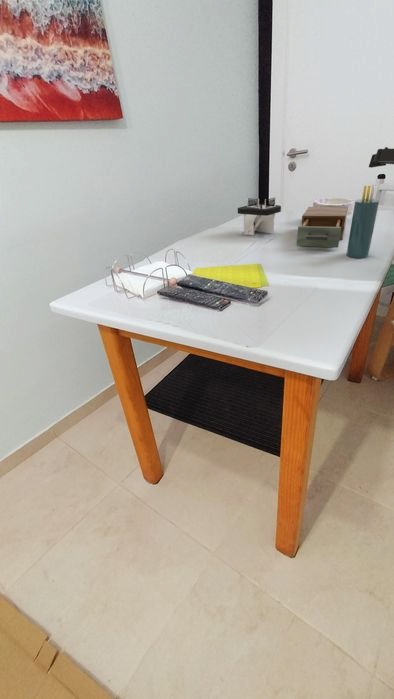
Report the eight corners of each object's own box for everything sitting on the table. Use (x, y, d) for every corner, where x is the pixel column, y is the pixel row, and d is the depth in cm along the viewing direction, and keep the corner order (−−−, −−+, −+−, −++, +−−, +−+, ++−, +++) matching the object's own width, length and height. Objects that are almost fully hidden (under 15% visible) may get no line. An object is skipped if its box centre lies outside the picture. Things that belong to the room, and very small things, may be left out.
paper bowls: (351, 225, 129) (354, 203, 125) (309, 225, 134) (311, 204, 130) (351, 217, 141) (354, 196, 136) (312, 217, 146) (315, 197, 141)
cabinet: (342, 240, 114) (345, 215, 110) (300, 238, 119) (302, 215, 115) (344, 228, 126) (348, 206, 122) (306, 228, 131) (308, 206, 127)
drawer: (337, 251, 101) (340, 231, 98) (294, 249, 106) (295, 230, 103) (341, 235, 115) (343, 217, 112) (303, 234, 120) (304, 217, 117)
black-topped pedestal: (209, 237, 131) (207, 201, 124) (253, 224, 145) (254, 190, 138) (265, 249, 113) (266, 207, 106) (310, 232, 126) (314, 194, 119)
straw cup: (368, 252, 101) (382, 182, 91) (368, 258, 96) (383, 185, 86) (346, 251, 103) (358, 182, 93) (345, 257, 99) (357, 185, 88)
